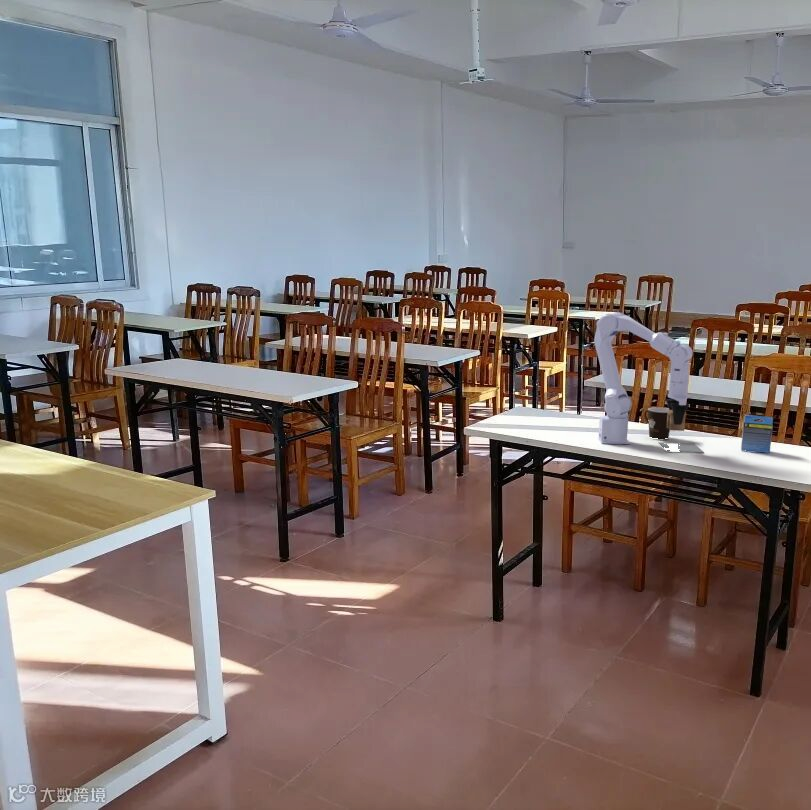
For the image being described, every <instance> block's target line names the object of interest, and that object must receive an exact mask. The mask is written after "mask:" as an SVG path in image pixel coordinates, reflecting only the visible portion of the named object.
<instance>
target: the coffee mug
mask: <svg viewBox="0 0 811 810" xmlns="http://www.w3.org/2000/svg"><path fill="white" fill-rule="evenodd" d="M667 410H669V407H668V408H667V407H649V408H647V410H645V411H644V415H643V416H644V419H645V421H646V422H647V424H648V436H649V437H652V438H658V439H665V438H668V439H669V436H670V430H669V428H667V416H668V413H667Z"/></svg>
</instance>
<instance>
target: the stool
mask: <svg viewBox="0 0 811 810" xmlns="http://www.w3.org/2000/svg"><path fill="white" fill-rule="evenodd" d="M667 413H668V416H667V428H669V430H670V431H673V432H675V431H676V432H685V427H686V426H685V424H686V417H687V411H686V412H685V414H684V417H683V420H682V423H681V425H675V424H674V420H673V410H667Z"/></svg>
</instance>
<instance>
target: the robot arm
mask: <svg viewBox="0 0 811 810" xmlns="http://www.w3.org/2000/svg"><path fill="white" fill-rule="evenodd" d="M620 332H630V333H632V334H633V335H635V336H637V337H639V338H641V339H644V340H646V341H647V342H649V345H650V347H651V348H652V349H654V350H655V351H657V352H659V353H660V354H662V355H664V356H666V357H668V359H669V361H670V363H671V364H670V371H669V372H670V373H669V385H668V386H669V387H668V394H667V399H665V402H666V404H667V407H668V409H669V410H673V420H674V424H675V425H681V423H682V420H683V417H684V414H685V412H686V413H687V410H688V409H689V407H690V404H689V403H687V399H691V398H692V395H690V394H688V391H689V389H688V387H689V378H690V377H689V375H690V362H691V361H690V360H691V359H692V357H693V355H694V354H693V352H694V351H693V349H692V348H691V347H690V346H689V345H688V344H687V343H681V341H680V340H675V339H674V338H672V337H670V336H669V333H668V332H661V331H660V332H659V331H658V332H656V333H655V332H654V331H652V330H651V329H649V328H647V327H646V326H644V325H643V324H641V323H640V322H639V321H637V320H635V319H633V318H632V317H630V316H629V315H626V314H624V313H622V312H619V311H616V312H614V313H604V314H603V315H602V316H600V317H599V319H598V321H597V322H596V329H595V334H594V339H593V340H594V341H593V342H594V346H595V351H596V355H597V358H598V361H599V366H600V370H601V374H602V378H603V383H604V386H605V390H606V391H605V394H604V401H605V403H604V411H605V413H606V415H601V416H600V417H599V422H598V424H599V425H598V426H599V427H598V437H597V438H598V440H599V441H600V443H601V444H606V445H607V444H609V445H611V444H613V445H614V444H615V445H619V444H620V445H630V444H631V443H630V441H629V440H628V429H629V418H630V417H629V412H630V411H631V409H632V408H633V407H632V406H633V403H632V400H631V398H630V397H629V396H628V393H627V391H626V389H625V388H624V387H623V385H622V380H621V377H620V373H619V369H618V365H617V361H616V358H615V357H616V356H615V354H614V349H613V344H612V341H613V340H614V338H615V337H616V336H617V334H618V333H620ZM668 398H669V399H668Z"/></svg>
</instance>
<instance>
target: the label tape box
mask: <svg viewBox="0 0 811 810" xmlns="http://www.w3.org/2000/svg"><path fill="white" fill-rule="evenodd" d="M758 419H759V420H760V421H759V420H758ZM756 420H758V421H756ZM773 420H774V417H772V416H764V415H762V416H761V415H751V414H750V415H749V414H744V419H743V425H742V432H741V433H742V436H741V447H740V451H741V450H746V451H745V452H747V451H758V452H757V453H760V452H766V453H765V454H770V453H771V444H772V437H773V436H772V435H773V427H774V426H773Z"/></svg>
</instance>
